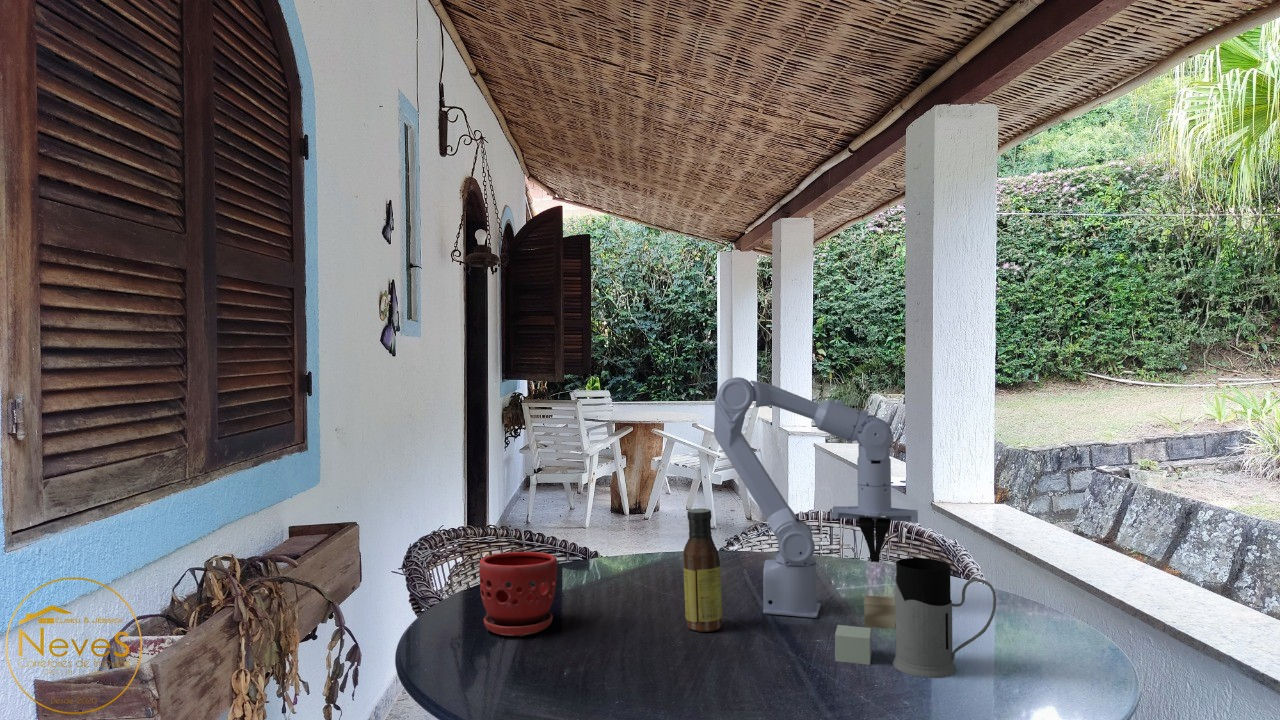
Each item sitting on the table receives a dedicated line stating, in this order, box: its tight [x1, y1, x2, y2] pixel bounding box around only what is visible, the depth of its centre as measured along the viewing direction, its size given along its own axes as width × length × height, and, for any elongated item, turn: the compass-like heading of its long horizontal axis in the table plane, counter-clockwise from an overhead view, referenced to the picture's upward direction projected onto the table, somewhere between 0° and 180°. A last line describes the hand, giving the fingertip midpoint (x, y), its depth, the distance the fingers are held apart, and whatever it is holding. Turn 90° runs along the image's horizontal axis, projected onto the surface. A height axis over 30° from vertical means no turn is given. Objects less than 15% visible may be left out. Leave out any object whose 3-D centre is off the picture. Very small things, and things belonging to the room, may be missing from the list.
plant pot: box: [478, 551, 558, 638], centre depth 136 cm, size 13×13×12 cm
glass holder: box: [892, 557, 997, 679], centre depth 116 cm, size 9×14×15 cm, turn 60°
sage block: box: [834, 624, 872, 666], centre depth 121 cm, size 5×5×4 cm
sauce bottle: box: [682, 507, 723, 633], centre depth 136 cm, size 7×6×20 cm
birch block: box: [863, 595, 896, 630], centre depth 137 cm, size 5×5×4 cm
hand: (875, 560), depth 142 cm, fingers closed
